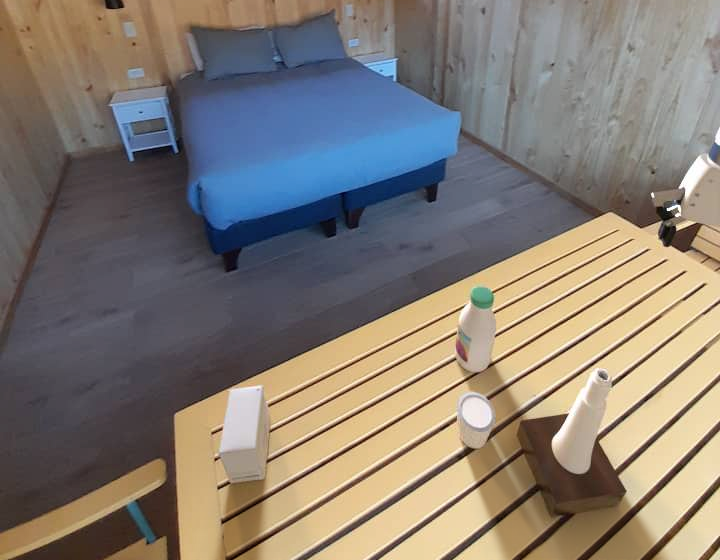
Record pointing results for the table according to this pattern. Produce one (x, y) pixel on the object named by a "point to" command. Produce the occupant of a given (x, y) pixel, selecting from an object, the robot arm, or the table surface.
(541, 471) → the block
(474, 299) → the milk bottle
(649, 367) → the table surface
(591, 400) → the cosmetic bottle
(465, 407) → the white yogurt cup
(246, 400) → the cosmetics box
